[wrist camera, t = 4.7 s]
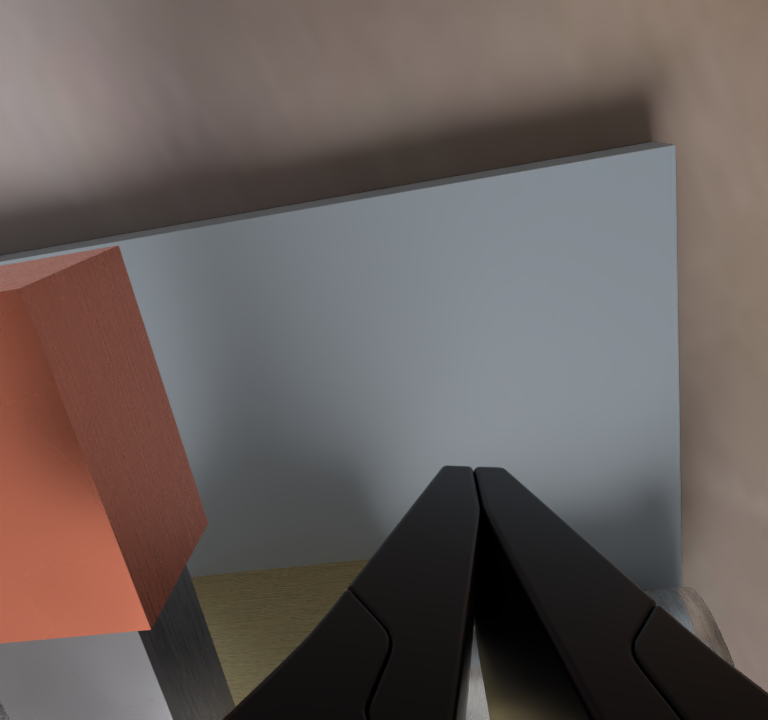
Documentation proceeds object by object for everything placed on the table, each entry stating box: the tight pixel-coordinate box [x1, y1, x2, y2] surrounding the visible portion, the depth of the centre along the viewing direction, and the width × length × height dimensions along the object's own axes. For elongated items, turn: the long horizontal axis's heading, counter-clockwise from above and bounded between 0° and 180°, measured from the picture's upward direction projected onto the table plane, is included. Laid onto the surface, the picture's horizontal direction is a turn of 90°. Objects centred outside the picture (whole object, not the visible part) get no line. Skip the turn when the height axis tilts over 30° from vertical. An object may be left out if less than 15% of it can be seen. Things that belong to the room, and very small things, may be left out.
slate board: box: [0, 142, 682, 630], centre depth 19 cm, size 22×18×2 cm
